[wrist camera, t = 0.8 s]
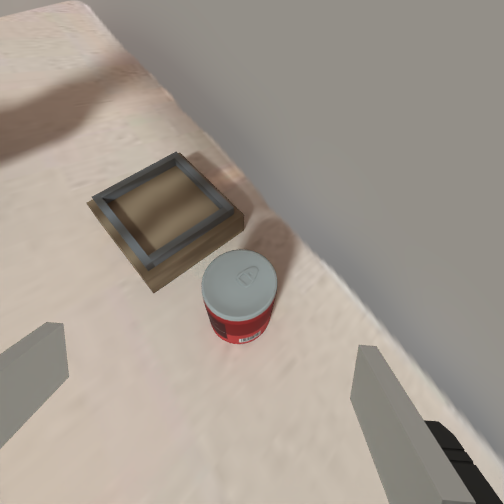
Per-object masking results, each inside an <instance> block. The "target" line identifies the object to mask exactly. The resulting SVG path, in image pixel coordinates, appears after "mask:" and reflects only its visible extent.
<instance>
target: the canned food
mask: <svg viewBox="0 0 504 504" xmlns="http://www.w3.org/2000/svg"><path fill="white" fill-rule="evenodd" d="M276 291H277V276H276V272H275V270H274V268H273V266H272V264H271V263H270V262H269V261H268V260H267V259H266V258H265V257H264V256H262V255H261V254H259V253H257V252H254V251H250V250H243V249H239V250H232V251H229V252H226V253H224V254H222V255H220V256H218V257H217V258H216V259H214V260H213V261H212V262H211V263H210V264H209V266H208V267H207V269H206V270H205V273H204V275H203V279H202V295H203V300H204V303H205V307H206V310H207V313H208V316H209V319H210V322H211V325H212V327H213V329H214V331H215V333H216V334H217V335H218V336H219V337H220V338H221V339H223V340H225V341H227V342H229V343H233V344H244V343H248V342H251V341H253V340H255V339H256V338H258V337H259V336H260V335H261V334H262V333H263V332H264V330H265V329H266V327H267V325H268V323H269V319H270V315H271V312H272V308H273V304H274V300H275V296H276Z"/></svg>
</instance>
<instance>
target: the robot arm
mask: <svg viewBox="0 0 504 504" xmlns="http://www.w3.org/2000/svg"><path fill="white" fill-rule="evenodd" d="M68 377H69V373H68V364H67V354H66V344H65V335H64V325H63V323H50V322H46V323H45V324H43V325H42V326H40V327H39V328H37V329H36V330H35V331H33V332H32V333H30V334H29V335H27V336H26V337H24V338H23V339H22V340H20V341H19V342H17V343H16V344H14V345H13V346H11V347H10V348H9V349H7V350H6V351H4V352H3V353H1V354H0V449H1V448H2V447H3V445H4V444H5V443H6V442H7V441H8V440H9V439H10V438H11V437H12V436H13V435H14V434H15V433H16V432H17V431H18V430H19V429H20V428H21V427H22V426H23V424H24V423H25V422H26V421H27V420H28V419H29V418H30V417H31V416H32V415H33V414H34V413H35V412H36V411H37V410H38V409H39V408H40V407H41V406H42V405H43V403H44V402H45V401H46V400H47V399H48V398H49V397H50V396H51V395H52V394H53V393H54V392H55V391H56V390H57V389H58V388H59V387H60V386H61V385H62V384H63V382H64V381H65V380H66V379H67V378H68ZM350 399H351V402H352V405H353V407H354V410H355V413H356V415H357V418H358V421H359V423H360V426H361V429H362V431H363V434H364V437H365V439H366V442H367V445H368V447H369V450H370V453H371V456H372V458H373V461H374V464H375V466H376V469H377V472H378V474H379V477H380V480H381V482H382V485H383V488H384V490H385V493H386V496H387V498H388V501H389V504H503V503H502V501H501V500H500V498H499V497H498V496H497V494H496V493H495V491H494V490H493V489H492V487H491V486H490V485H489V483H488V482H487V480H486V479H485V478H484V476H483V475H482V473H481V472H480V471H479V469H478V468H477V466H476V465H474V464H473V461H472V459H471V458H470V457H469V455H468V454H467V452H465V451H464V448H463V447H462V445H461V444H460V443H459V441H458V440H457V438H456V437H455V436H454V434H452V433H451V432H450V431H449V430H448V429H447V428H445V427H444V426H443V425H442V424H441V423H440V422H437V421H425V420H423V419H422V417H421V415H420V414H419V412H418V411H417V409H416V408H415V406H414V404H413V403H412V401H411V400H410V398H409V397H408V395H407V393H406V392H405V390H404V389H403V387H402V386H401V384H400V382H399V381H398V379H397V378H396V376H395V375H394V373H393V371H392V370H391V368H390V367H389V365H388V364H387V362H386V360H385V359H384V357H383V356H382V354H381V353H380V351H379V349H378V348H377V346H366V345H359V347H358V353H357V359H356V365H355V371H354V378H353V384H352V390H351V396H350Z"/></svg>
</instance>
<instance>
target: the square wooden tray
mask: <svg viewBox="0 0 504 504" xmlns="http://www.w3.org/2000/svg"><path fill="white" fill-rule="evenodd" d="M92 198H93V200H91V201H89V202H87V205H88V206H89V208H90V209H91V210H92V212H93V213H94V215H95V216H96V218H97V219H98V220H99V222H100V223H101V224H102V226H103V227H104V228H105V230H106V231H107V232H108V234H109V235H110V236H111V238H112V239H113V240H114V242H115V243H116V244H117V246H118V247H119V248H120V250H121V251H122V252H123V254H124V255H125V256H126V257H127V259H128V260H129V261H130V263H131V264H132V265H133V267H134V268H135V269H136V271H137V272H138V273H139V275H140V276H141V277H142V279H143V280H144V281H145V283H146V284H147V285H148V287H149V288H150V289H151V291H152V292H153V293H155V292H157V291H158V290H159V289H161V288H162V287H164V286H165V285H167V284H168V283H169V282H171V281H172V280H174V279H175V278H177V277H178V276H179V275H181V274H182V273H184V272H185V271H187V270H188V269H189V268H191V267H192V266H194V265H195V264H197V263H198V262H199V261H201V260H202V259H204V258H205V257H207V256H208V255H209V254H211V253H212V252H214V251H215V250H217V249H218V248H219V247H221V246H222V245H224V244H225V243H227V242H228V241H229V240H231V239H232V238H234V237H235V236H237V235H238V234H239V233H241V232H242V231H244V214H243V213H242V212H240V211H239V210H238V209H237V208H236V207H235V206H234V205H233V204H232V203H231V202H230V201H229V200H228V199H227V198H226V197H225V196H224V195H223V194H222V193H221V192H220V191H219V190H218V189H217V188H216V187H215V186H214V185H213V184H212V183H211V182H210V181H209V180H208V179H207V178H206V177H204V176H203V175H202V174H201V173H200V172H199V171H198V170H197V169H196V168H195V167H194V166H193V165H192V164H191V163H190V162H189V161H188V160H187V159H186V158H185V157H184V156H183V155H182V154H181V153H177V152H174V153H173V154H171V155H169V156H167V157H165V158H163V159H161V160H160V161H158V162H156V163H154V164H152V165H150V166H148V167H147V168H145V169H143V170H141V171H139V172H137V173H135V174H134V175H132V176H130V177H128V178H126V179H124V180H122V181H121V182H119V183H117V184H115V185H113V186H111V187H109V188H107V189H106V190H104V191H102V192H100V193H98V194H96V195H94V196H93V197H92Z"/></svg>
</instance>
